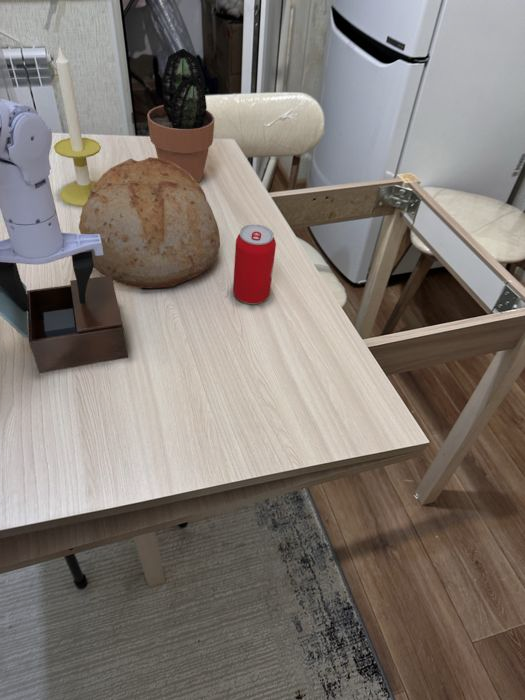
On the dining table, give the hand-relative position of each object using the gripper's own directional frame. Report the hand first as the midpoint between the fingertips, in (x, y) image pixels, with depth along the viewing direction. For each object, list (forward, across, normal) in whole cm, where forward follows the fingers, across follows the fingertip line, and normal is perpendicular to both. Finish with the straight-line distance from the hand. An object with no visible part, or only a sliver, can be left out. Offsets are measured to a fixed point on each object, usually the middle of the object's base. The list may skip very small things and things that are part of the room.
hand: (54, 302), depth 65 cm
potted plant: (+8, -28, -47) cm, 55 cm away
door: (-2, +5, 0) cm, 5 cm away
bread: (+8, -16, -21) cm, 27 cm away
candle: (+8, -7, -43) cm, 44 cm away
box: (+7, -2, 0) cm, 8 cm away
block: (+7, 0, 0) cm, 7 cm away
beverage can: (+8, -30, -4) cm, 31 cm away
